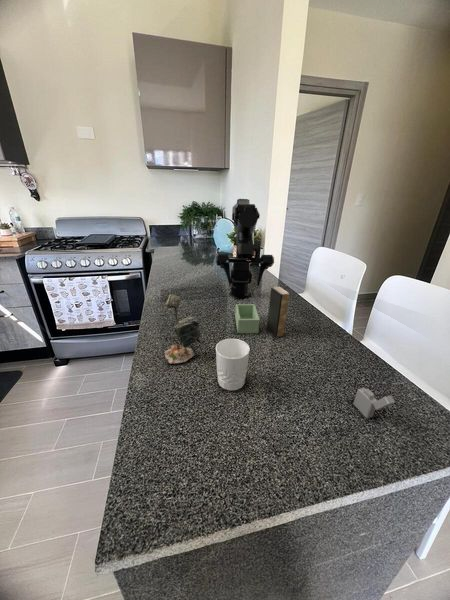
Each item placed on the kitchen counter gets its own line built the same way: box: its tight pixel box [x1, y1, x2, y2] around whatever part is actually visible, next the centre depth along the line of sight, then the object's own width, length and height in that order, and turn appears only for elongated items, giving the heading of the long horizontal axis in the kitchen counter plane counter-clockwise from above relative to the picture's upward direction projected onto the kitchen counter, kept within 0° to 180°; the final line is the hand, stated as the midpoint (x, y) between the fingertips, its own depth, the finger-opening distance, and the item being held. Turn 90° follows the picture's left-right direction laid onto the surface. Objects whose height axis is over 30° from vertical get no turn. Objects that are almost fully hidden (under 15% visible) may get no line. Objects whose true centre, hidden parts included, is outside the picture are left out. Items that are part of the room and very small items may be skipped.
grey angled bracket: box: [352, 387, 396, 419], centre depth 52 cm, size 7×2×8 cm, turn 15°
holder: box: [234, 303, 261, 334], centre depth 86 cm, size 11×7×5 cm, turn 2°
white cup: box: [215, 338, 251, 391], centre depth 60 cm, size 8×8×10 cm
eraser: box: [266, 286, 290, 338], centre depth 80 cm, size 3×6×15 cm, turn 19°
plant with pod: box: [163, 293, 203, 365], centre depth 67 cm, size 8×11×20 cm
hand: (244, 285), depth 82 cm, fingers open, 9 cm apart
